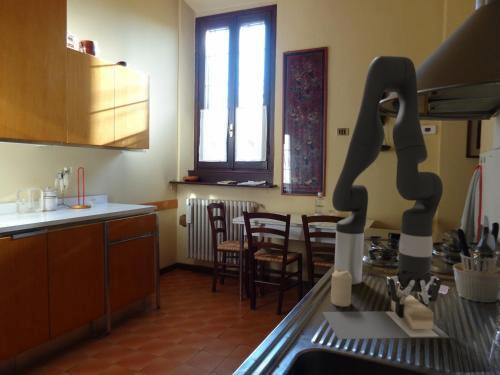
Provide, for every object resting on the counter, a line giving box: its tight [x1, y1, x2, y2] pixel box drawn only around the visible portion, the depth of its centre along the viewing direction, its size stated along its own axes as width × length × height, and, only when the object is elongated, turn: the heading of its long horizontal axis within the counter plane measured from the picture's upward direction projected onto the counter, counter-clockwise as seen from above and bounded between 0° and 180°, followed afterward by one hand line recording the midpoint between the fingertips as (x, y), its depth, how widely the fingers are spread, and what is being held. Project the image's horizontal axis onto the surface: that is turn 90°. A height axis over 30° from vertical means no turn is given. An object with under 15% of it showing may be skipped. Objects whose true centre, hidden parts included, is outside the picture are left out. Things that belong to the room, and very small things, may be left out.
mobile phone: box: [397, 281, 450, 295], centre depth 118 cm, size 8×1×15 cm
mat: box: [321, 310, 451, 340], centre depth 89 cm, size 14×27×1 cm, turn 94°
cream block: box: [390, 293, 435, 329], centre depth 89 cm, size 11×5×4 cm, turn 4°
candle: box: [330, 269, 352, 307], centre depth 101 cm, size 6×6×10 cm
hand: (410, 316), depth 89 cm, fingers closed on cream block, 5 cm apart
